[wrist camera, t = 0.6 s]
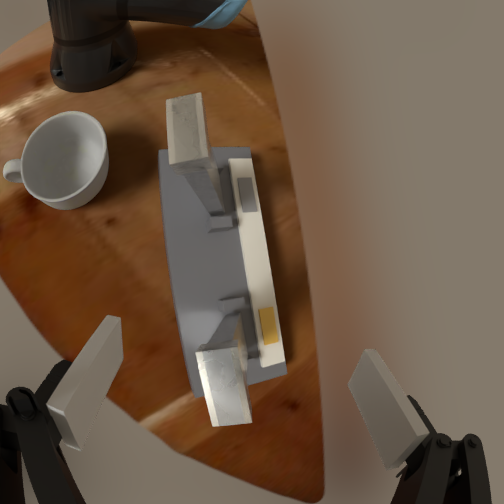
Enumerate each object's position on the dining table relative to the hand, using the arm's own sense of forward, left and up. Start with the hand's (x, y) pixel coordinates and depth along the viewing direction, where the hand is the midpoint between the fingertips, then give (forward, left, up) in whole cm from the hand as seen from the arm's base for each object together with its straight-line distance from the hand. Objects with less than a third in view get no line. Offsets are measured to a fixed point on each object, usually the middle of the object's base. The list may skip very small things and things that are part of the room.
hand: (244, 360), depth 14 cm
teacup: (-20, -14, -22) cm, 33 cm away
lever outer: (+2, +5, -17) cm, 17 cm away
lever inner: (-14, +5, -17) cm, 22 cm away
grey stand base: (-6, +5, -21) cm, 22 cm away
